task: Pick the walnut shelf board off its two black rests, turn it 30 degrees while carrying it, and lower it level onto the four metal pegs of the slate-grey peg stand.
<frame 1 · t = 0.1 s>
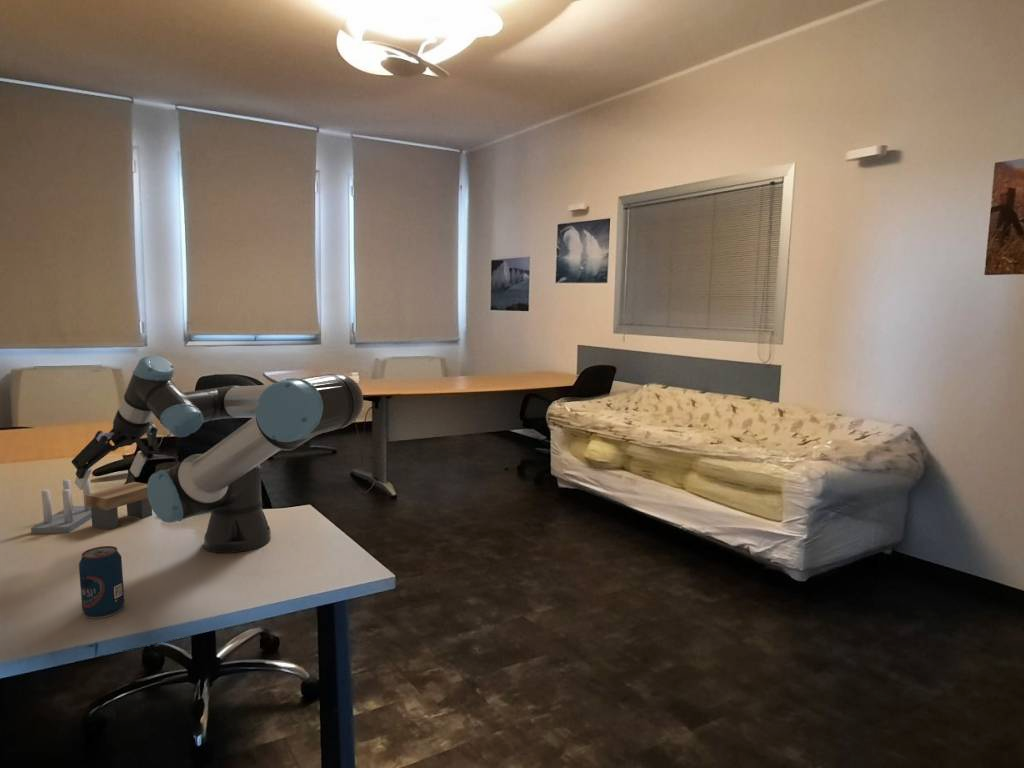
hand: (107, 479, 164), 15 cm above the table, fingers open, 13 cm apart
peg stand: (69, 521, 180), on the table
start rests: (123, 520, 180), on the table
soda can: (104, 612, 129), on the table
shelf board: (121, 500, 180), point 5 cm above the table, touching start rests
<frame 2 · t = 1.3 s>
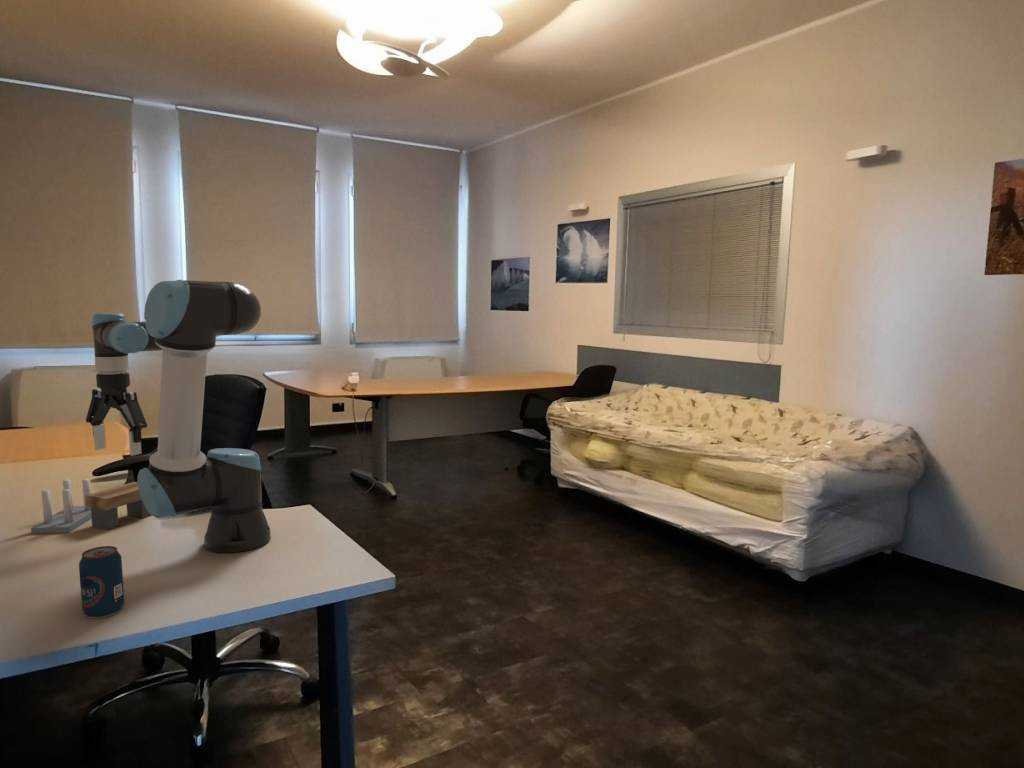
hand: (117, 451, 178), 19 cm above the table, fingers open, 13 cm apart
nothing on the table moved.
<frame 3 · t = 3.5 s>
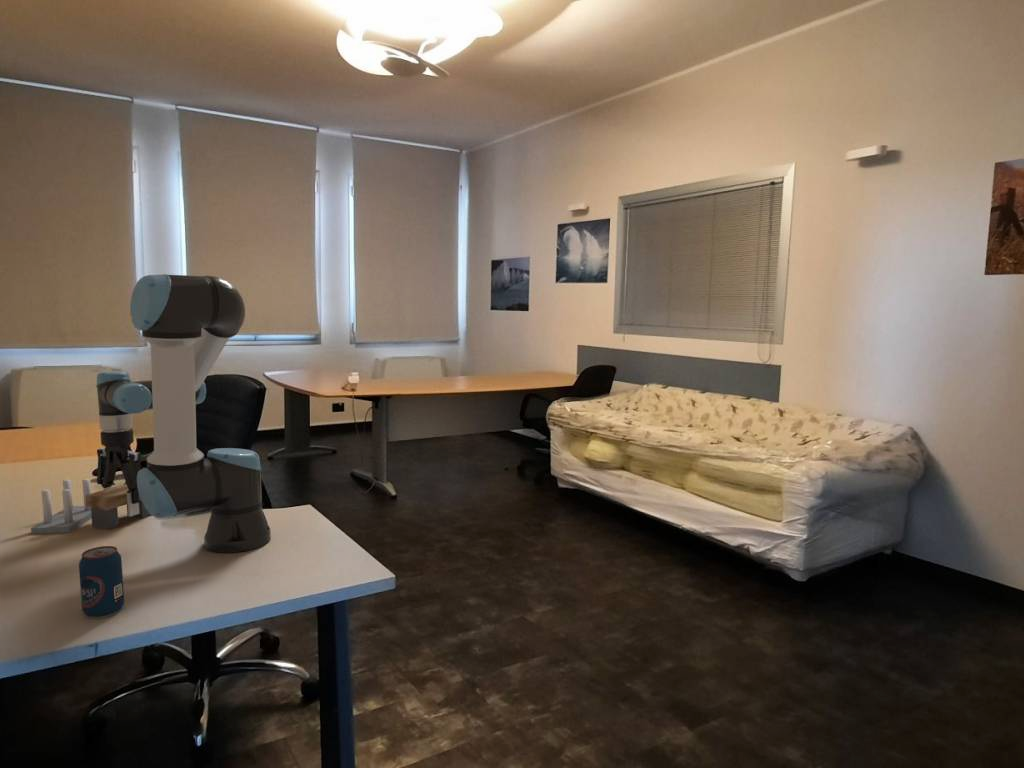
hand: (122, 512, 180), 2 cm above the table, fingers closed on shelf board, 8 cm apart
shelf board: (121, 500, 180), point 6 cm above the table, touching gripper, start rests
everything else where it was.
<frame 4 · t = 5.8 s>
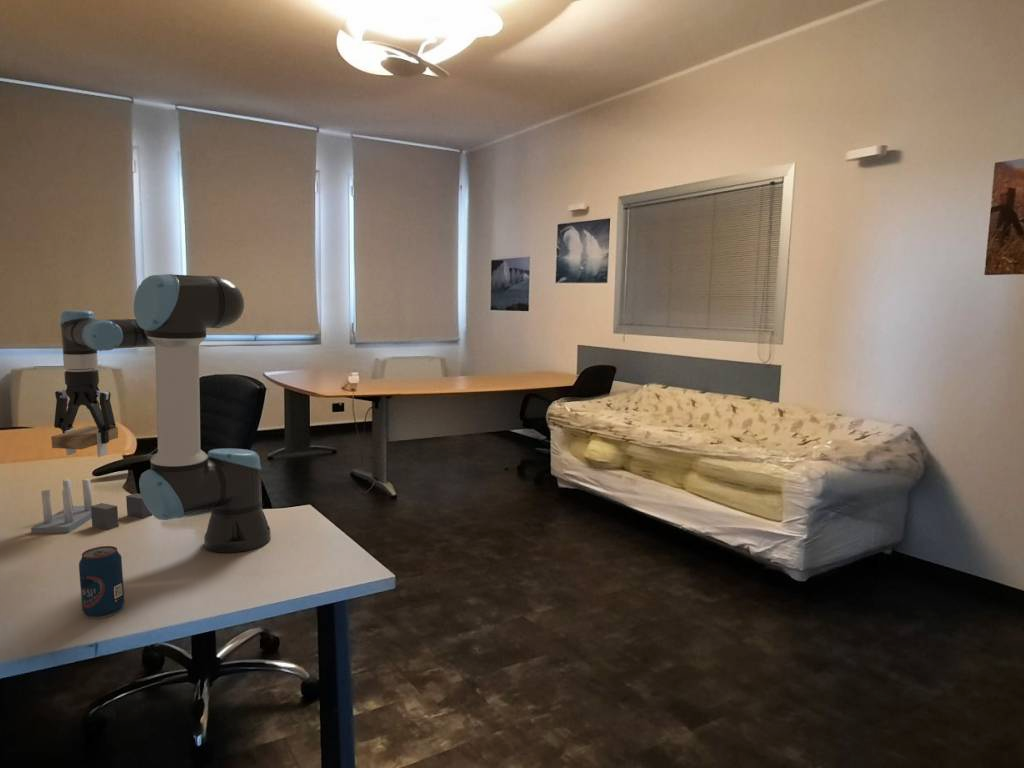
hand: (87, 454, 178), 18 cm above the table, fingers closed on shelf board, 8 cm apart
shelf board: (86, 442, 178), point 21 cm above the table, touching gripper
everything else where it was.
when the fingers open (8 cm above the table, at t = 8.3 s): shelf board drops 1 cm, resting on peg stand.
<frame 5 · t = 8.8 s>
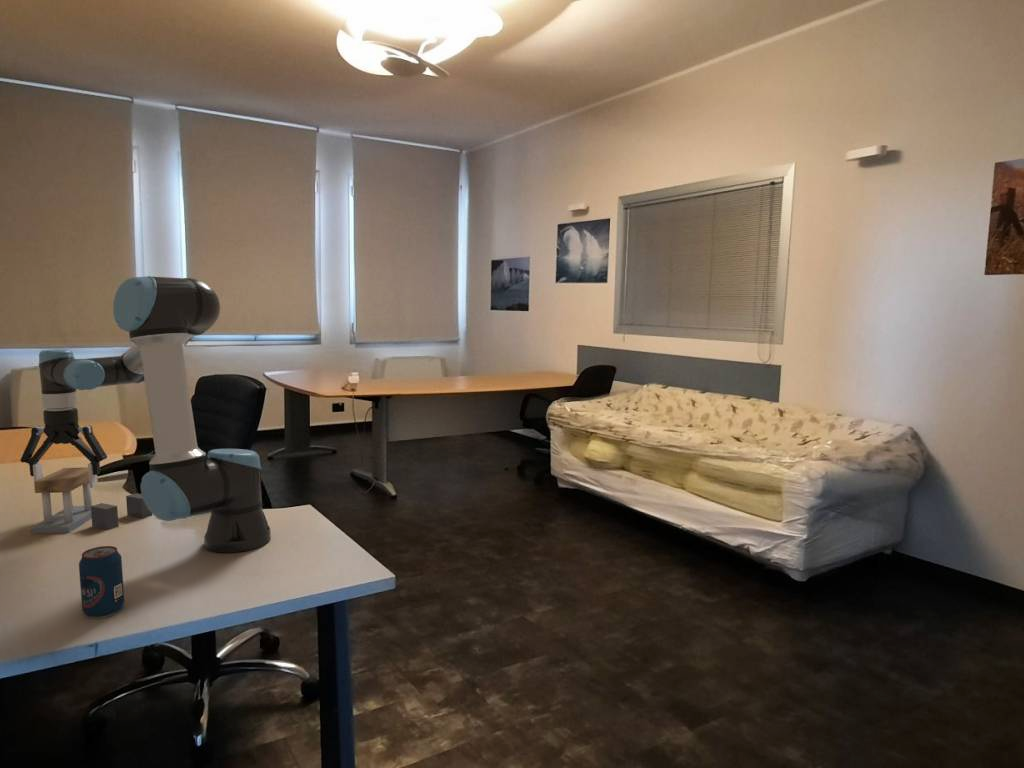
hand: (66, 487, 178), 9 cm above the table, fingers open, 13 cm apart
shelf board: (66, 485, 178), point 10 cm above the table, touching peg stand
everything else where it was.
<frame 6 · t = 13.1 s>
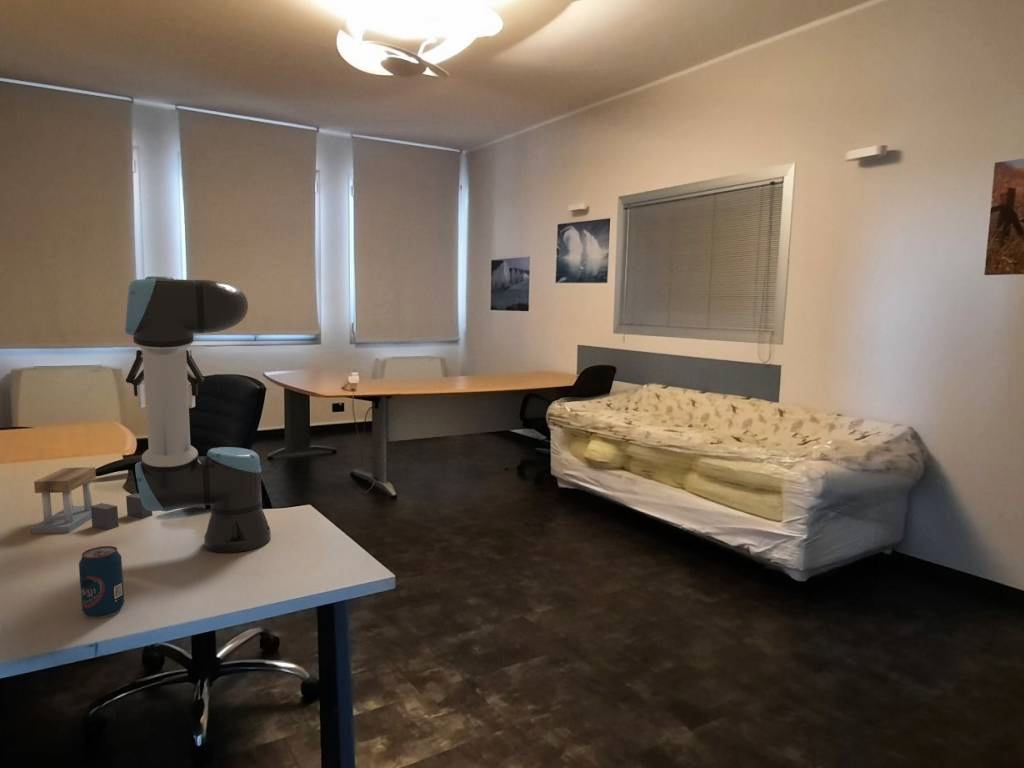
hand: (167, 407, 190), 29 cm above the table, fingers open, 13 cm apart
nothing on the table moved.
at the end: shelf board 0.0 cm off-centre on the peg stand, point 10.0 cm above the peg stand's base; shelf board tilted 0°; the gripper is holding nothing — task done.
